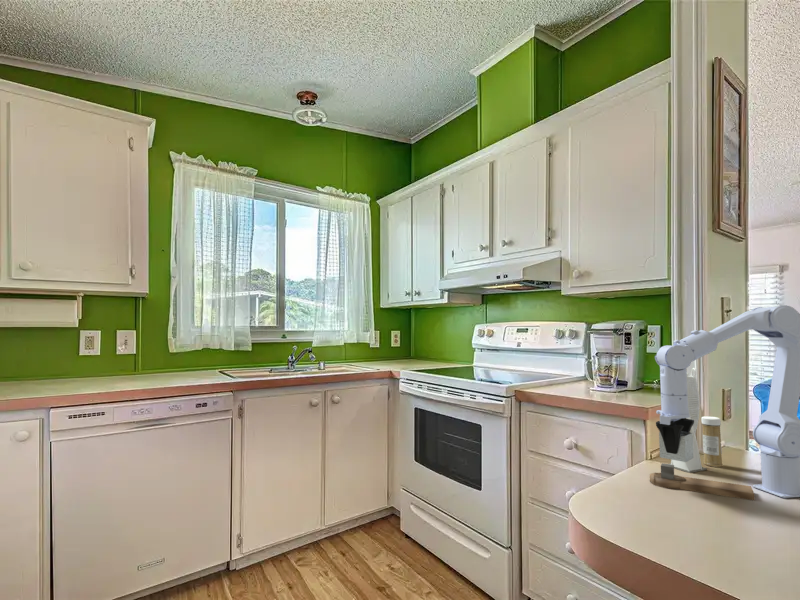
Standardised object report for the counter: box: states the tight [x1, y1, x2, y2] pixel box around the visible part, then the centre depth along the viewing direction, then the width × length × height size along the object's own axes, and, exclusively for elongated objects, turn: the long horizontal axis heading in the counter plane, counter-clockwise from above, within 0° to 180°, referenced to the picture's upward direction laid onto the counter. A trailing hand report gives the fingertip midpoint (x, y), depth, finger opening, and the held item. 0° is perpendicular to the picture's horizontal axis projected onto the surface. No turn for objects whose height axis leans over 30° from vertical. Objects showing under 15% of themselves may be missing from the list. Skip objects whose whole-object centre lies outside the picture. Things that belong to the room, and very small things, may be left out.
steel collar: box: [658, 431, 693, 462], centre depth 113 cm, size 6×6×6 cm
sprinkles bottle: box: [700, 415, 723, 468], centre depth 132 cm, size 5×5×14 cm
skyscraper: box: [669, 367, 707, 474], centre depth 129 cm, size 8×8×28 cm
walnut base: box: [649, 463, 756, 501], centre depth 112 cm, size 21×8×4 cm, turn 59°
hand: (676, 450), depth 113 cm, fingers closed on steel collar, 6 cm apart
